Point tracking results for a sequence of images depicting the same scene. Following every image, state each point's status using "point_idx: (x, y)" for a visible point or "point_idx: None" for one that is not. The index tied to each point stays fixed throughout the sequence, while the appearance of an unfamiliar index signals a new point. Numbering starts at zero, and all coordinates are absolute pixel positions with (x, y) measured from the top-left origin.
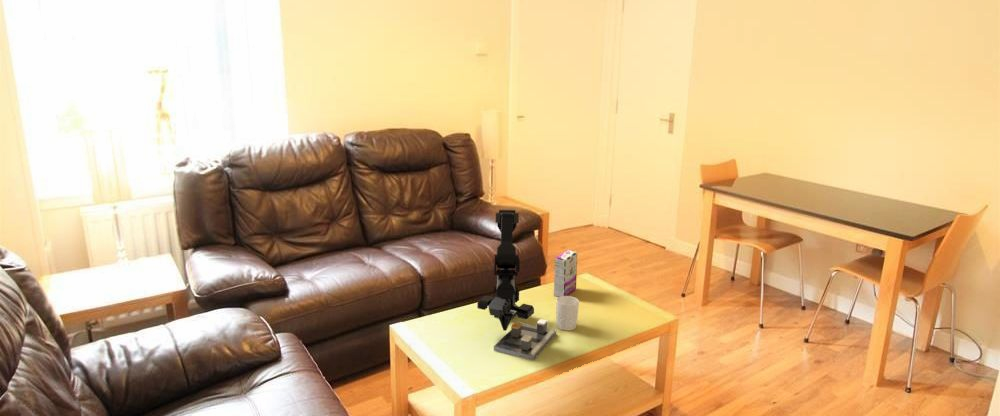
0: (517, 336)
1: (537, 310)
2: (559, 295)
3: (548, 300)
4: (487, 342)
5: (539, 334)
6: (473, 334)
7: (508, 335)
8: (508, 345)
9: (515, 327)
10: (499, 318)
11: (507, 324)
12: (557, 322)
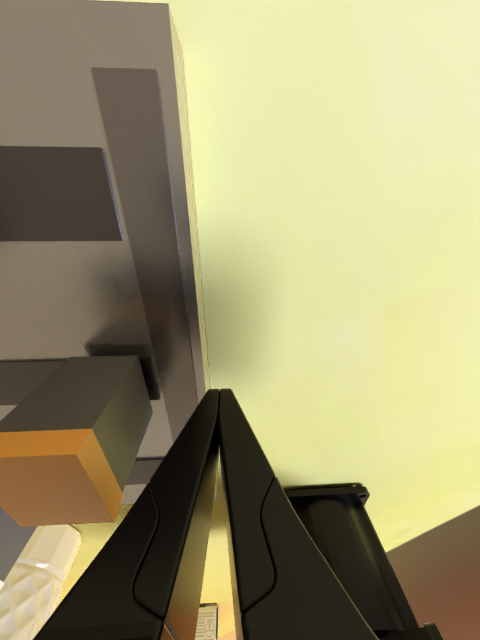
0: (64, 362)
1: (217, 557)
2: (198, 615)
3: (219, 590)
4: (315, 218)
5: None
6: (459, 291)
7: (173, 357)
8: (17, 155)
9: (2, 450)
10: (304, 559)
11: (167, 464)
12: (46, 553)
